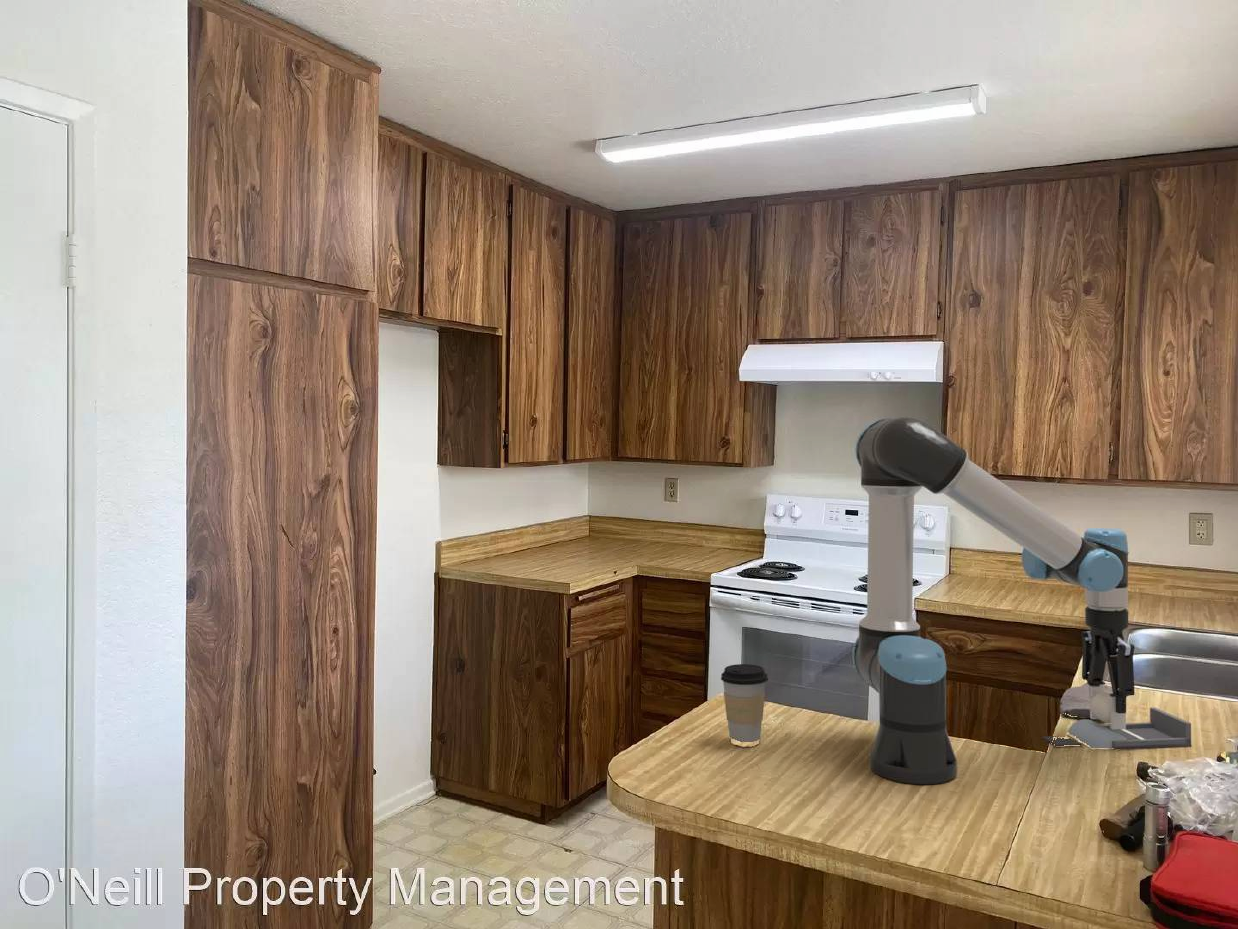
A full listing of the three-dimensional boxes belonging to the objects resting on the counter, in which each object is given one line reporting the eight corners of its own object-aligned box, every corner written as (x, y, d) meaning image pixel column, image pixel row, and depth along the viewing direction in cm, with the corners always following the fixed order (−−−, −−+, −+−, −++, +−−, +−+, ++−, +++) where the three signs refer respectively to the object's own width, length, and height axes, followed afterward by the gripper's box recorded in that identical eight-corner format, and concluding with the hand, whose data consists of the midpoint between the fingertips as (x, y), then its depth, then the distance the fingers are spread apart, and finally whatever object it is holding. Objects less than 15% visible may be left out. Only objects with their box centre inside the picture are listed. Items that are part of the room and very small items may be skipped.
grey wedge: (1132, 773, 176) (1131, 732, 176) (1092, 775, 175) (1092, 734, 175) (1103, 757, 185) (1103, 718, 185) (1066, 759, 184) (1065, 720, 184)
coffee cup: (719, 749, 180) (717, 673, 179) (725, 734, 189) (723, 662, 189) (767, 752, 177) (766, 675, 177) (770, 736, 187) (769, 664, 186)
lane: (1114, 750, 175) (1114, 726, 175) (1082, 732, 185) (1082, 710, 185) (1191, 746, 176) (1191, 723, 176) (1154, 729, 186) (1154, 707, 186)
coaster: (1056, 747, 177) (1056, 745, 177) (1042, 739, 182) (1042, 736, 182) (1081, 746, 177) (1081, 743, 177) (1066, 738, 182) (1066, 735, 182)
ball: (1103, 727, 177) (1102, 697, 177) (1085, 718, 183) (1084, 689, 183) (1132, 726, 177) (1132, 695, 177) (1113, 717, 183) (1113, 687, 183)
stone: (1102, 726, 189) (1102, 698, 189) (1056, 716, 197) (1056, 689, 197) (1127, 714, 198) (1127, 687, 198) (1082, 705, 205) (1082, 679, 205)
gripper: (1156, 615, 170) (1157, 737, 171) (1096, 598, 189) (1097, 709, 190) (1118, 616, 170) (1119, 739, 170) (1061, 599, 189) (1062, 710, 189)
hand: (1107, 723), depth 180 cm, fingers closed on ball, 6 cm apart
